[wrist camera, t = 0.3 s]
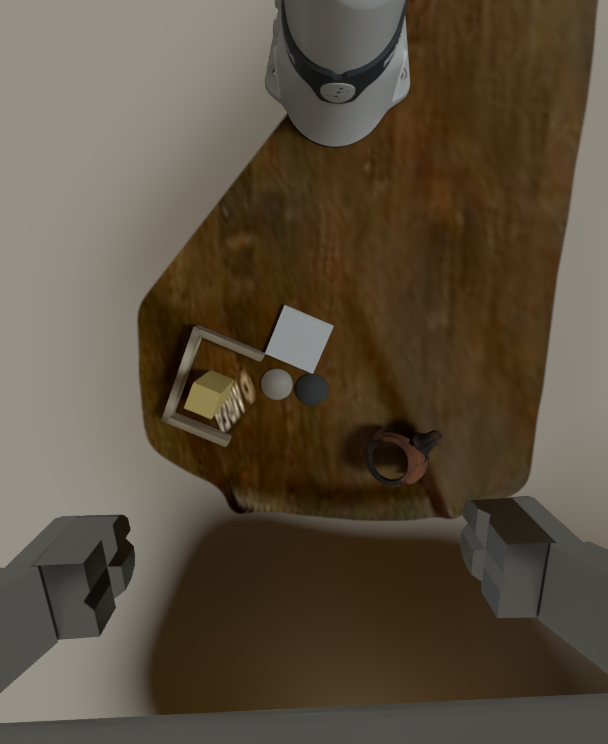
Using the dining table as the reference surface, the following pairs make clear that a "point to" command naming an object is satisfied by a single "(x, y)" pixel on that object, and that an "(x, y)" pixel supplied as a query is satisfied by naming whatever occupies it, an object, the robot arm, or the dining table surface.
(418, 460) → the pottery mug
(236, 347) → the cubby
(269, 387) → the painted circle
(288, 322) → the pad
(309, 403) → the hole disc
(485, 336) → the dining table surface
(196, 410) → the ochre block
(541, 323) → the dining table surface
